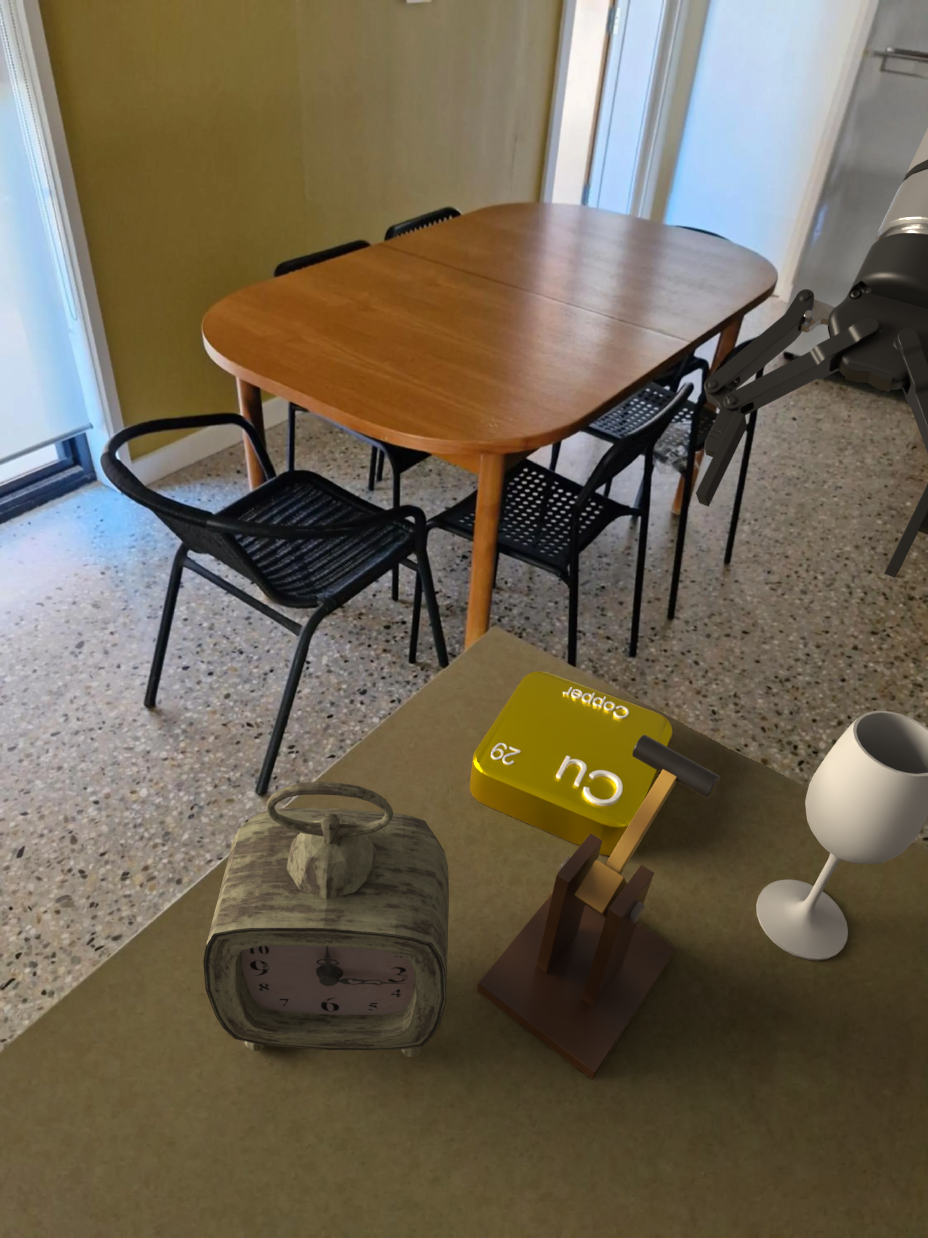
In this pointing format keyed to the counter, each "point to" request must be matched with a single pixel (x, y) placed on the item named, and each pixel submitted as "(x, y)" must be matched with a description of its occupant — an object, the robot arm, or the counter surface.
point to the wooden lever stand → (579, 966)
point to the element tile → (567, 759)
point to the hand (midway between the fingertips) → (792, 535)
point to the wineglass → (852, 825)
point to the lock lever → (643, 819)
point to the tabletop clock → (331, 928)
